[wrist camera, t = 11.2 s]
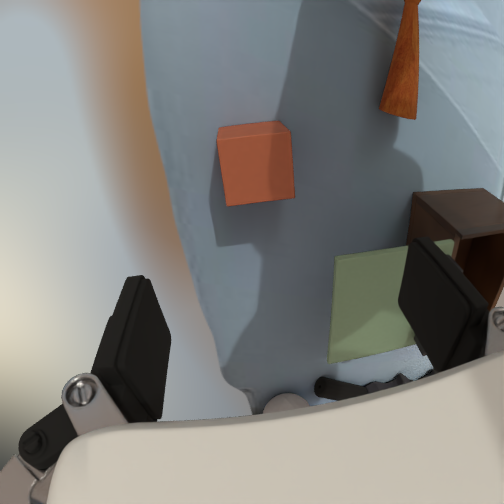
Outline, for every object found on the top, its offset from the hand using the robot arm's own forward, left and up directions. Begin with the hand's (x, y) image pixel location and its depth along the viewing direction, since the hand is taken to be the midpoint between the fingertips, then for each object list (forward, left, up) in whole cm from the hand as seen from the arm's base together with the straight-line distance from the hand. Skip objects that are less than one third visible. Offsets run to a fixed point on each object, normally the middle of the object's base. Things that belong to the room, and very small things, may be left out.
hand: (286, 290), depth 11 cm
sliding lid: (+12, +10, -10) cm, 18 cm away
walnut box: (+12, +21, -18) cm, 30 cm away
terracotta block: (0, 0, -18) cm, 18 cm away
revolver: (+32, +22, -16) cm, 43 cm away
